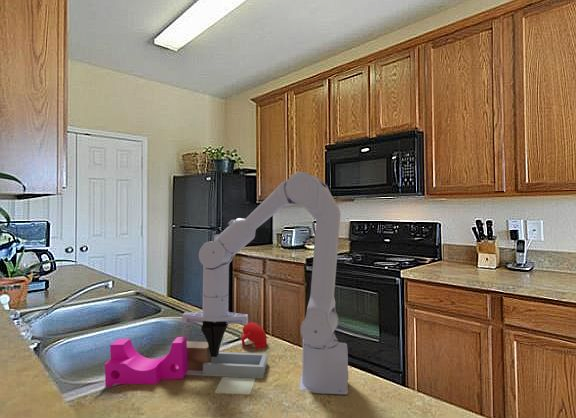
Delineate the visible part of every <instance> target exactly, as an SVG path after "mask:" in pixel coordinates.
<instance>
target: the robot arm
mask: <svg viewBox="0 0 576 418" xmlns="http://www.w3.org/2000/svg"><path fill="white" fill-rule="evenodd" d="M298 205H299V206H301V207H302V208H304V209H305V210H306V211H307V212H308V213H309V214H310V215H311V216H312V217H313V219H315V232H314V245H313V246H314V247H313V257H312V258H313V259H312V260H313V261H312V270H311V271H312V272H311V283H310V284H311V285H310V295H309V300H308V302H307V303H308V304H307V308H306V315H305V317H304V319H303V321H302V323H301V325H300V335H301V338H302V366H301V368H302V369H301V370H302V371H301V374H300V380H299V381H300V382H299V391H301V392H311V394H324V395H325V394H327V395H328V394H329V395H348V393H349V391H348V387H349V386H348V381H349V355H348V353H349V351H348V344H347V343H346V342H340V341H338V337H337V336H336V334H335V333H334V332H335V331H336V329H337V328H338V325H339V315H338V313H337V311H336V299H335V288H336V275H337V261H338V251H339V237H340V227H341V225H340V224H341V210H340V208H339V206H338V204H337V202H336V200H335V198H334V197H333V195H332V193H331V191H330V189H329V186H328V185H327V184H326V183H325V182H323V181H322V180H321V179H320V178H318V177H317V176H314V175H311V174H310V173H308V172H306V171H299V172H295V173H293V174H291V175H290V176H289V178H288V179H287V180H284V181H282V182H281V183H280V184H279V185H278V186H277V187H276V188H275V189H274V190H273V191H272V192H271V193H270V194H269V195H268V196H267V197H266V198H265V199H264V200H263V201H262V202H261V203H260V204H259V205H258V206H257V207H255V209H254V210H253V211H252V212H251V213H250V214H249V215H248V216H247V217H245V218H241V217H238V218H236V219H231V220H230V221H229V222H227V224H228V226H227V227H226V228H225V229H224V230H223V231H221V233H218V234H215V235H214V236H213V239H214V240H213V241H207V242H204V243H203V244H202V246H201V247H200V249H199V252H198V259H199V262H200V263H201V265H202V266H203V268H202V310H201V311H185V312H183V314H182V315H181V316H182V317H181V318H182V324H187V323H197V324H198V323H202V325H201V328H200V329H201V332H202V334H203V335H204V338H205V339H206V342H207V343H208V346H209V349H210V354H211V357H217V356H218V354H219V352H220V348H221V344H222V339H223V337H224V335H225V332H226V330H227V328H228V325H229V324H231V325H242V326H244V325H247V323H249V314H247V313H237V312H231V311H229V297H230V295H229V289H230V288H229V286H230V285H229V283H230V280H229V278H230V274H229V273H230V271H229V270H230V263H231V262H233V259H234V256H235V255H236V254H238V253H239V252H240V251H241V250H242V249H243V248H245V247H246V246H247V245H248V244H249V243H251V242H252V241H253V240H254V239H255V237H256V231H257V229H258V228H259V227H260V226H262V225H263V224H264V223H266V222H267V221H268V220H269V219H270V218H271V217H273V216H275V214H277V213H278V212H279V211H281V210H282V208H287V207H291V206H292V207H294V206H298Z"/></svg>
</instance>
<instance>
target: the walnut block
mask: <svg viewBox="0 0 576 418" xmlns="http://www.w3.org/2000/svg"><path fill="white" fill-rule="evenodd" d="M211 358H212V357H211V354H210V349H209V346H208V343H207V341H190V340H187V368H188V370H193V371H203V364H204V363H211Z"/></svg>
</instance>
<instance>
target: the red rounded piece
mask: <svg viewBox="0 0 576 418" xmlns="http://www.w3.org/2000/svg"><path fill="white" fill-rule="evenodd" d="M240 335H241V337H240V340H241V345H242V346H245V345H246V343H245V341H246V340H247V339H248V340H249V341H250V342H252V343H253V344H254V347H255V348H256V349H257V350H260V349H264V348H267V343H268V342H267V341H268V340H267V338H268V336H267V334H266V332H265V330H264V329H263V328H262V326H261V325H259V324H258V323H254V322H248V323H247V325H243V327H242V333H241V334H240Z"/></svg>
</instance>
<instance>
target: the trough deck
mask: <svg viewBox="0 0 576 418" xmlns="http://www.w3.org/2000/svg"><path fill="white" fill-rule="evenodd" d="M267 364H268V354H267V353H252V352H250V353H249V352H231V351H228V352H227V351H219V354H218V356H217V357H212V358H211V363H204V364H203V371H193V370H188V371H187V373H186V374H185V376H186V375H187V376H206V377H208V376H210V377H211V376H212V377H232V378H255V379H263V378H264V375H265V372H266V370H267V369H266V368H267V366H268V365H267Z"/></svg>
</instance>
